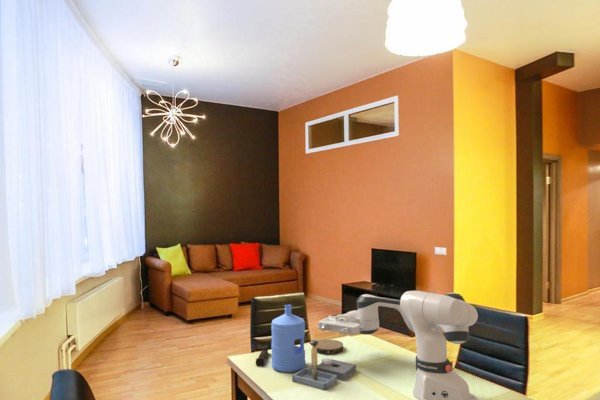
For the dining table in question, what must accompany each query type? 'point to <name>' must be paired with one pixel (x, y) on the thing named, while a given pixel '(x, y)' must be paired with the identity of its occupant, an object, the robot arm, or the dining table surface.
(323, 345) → the brown round disc
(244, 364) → the dining table surface
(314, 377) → the lock pin
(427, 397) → the robot arm
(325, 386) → the tray
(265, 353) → the hand tool
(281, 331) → the water jug
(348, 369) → the block
